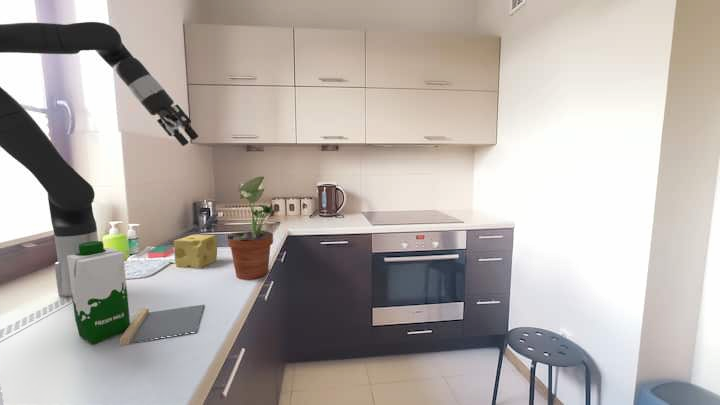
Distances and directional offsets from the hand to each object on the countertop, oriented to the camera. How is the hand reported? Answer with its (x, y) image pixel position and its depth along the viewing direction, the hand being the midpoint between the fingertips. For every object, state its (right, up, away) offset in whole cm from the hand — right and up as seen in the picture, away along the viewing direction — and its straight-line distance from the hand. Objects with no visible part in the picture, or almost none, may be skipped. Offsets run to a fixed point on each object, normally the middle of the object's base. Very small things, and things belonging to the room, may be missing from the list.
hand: (190, 141), depth 101 cm
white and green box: (-3, -48, -30) cm, 57 cm away
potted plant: (+18, -43, +7) cm, 47 cm away
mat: (+9, -47, -26) cm, 55 cm away
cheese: (-7, -42, +18) cm, 46 cm away
